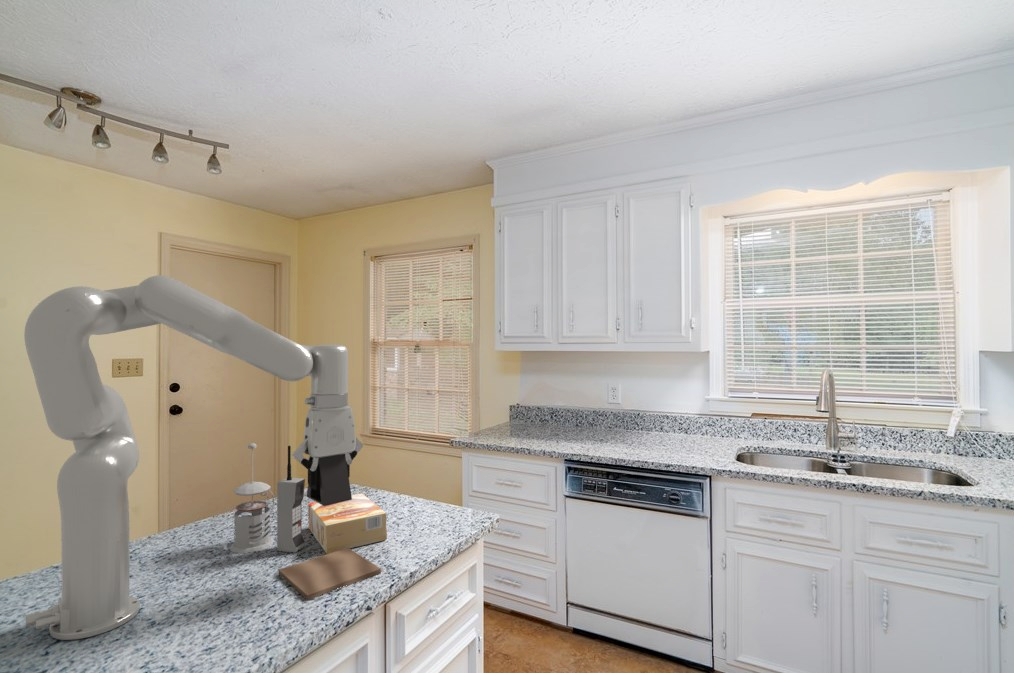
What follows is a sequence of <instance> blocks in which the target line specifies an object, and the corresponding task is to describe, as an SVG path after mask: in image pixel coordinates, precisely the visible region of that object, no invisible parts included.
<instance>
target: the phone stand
mask: <svg viewBox="0 0 1014 673" xmlns="http://www.w3.org/2000/svg"><path fill="white" fill-rule="evenodd" d="M317 470H318V471H319V489H318V490H314V489H312V488H310V486H309V485H308V484H307V485H308V486H307V491H306V498H309V499H311V500H312V501H314V502H318V503H319V504H321V505H323V506H327V505H331V504H336V503H340V502H344V501H348V500H352V495H353V494H352V491H351V490H352V489H351V484H350V476H348V470H347V463H346V457H345V454H341V455H335V456H329V457H323V458H319V463H318V465H317Z"/></svg>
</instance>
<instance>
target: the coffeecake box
mask: <svg viewBox="0 0 1014 673" xmlns="http://www.w3.org/2000/svg"><path fill="white" fill-rule="evenodd" d="M351 495H352V500H348V501H344V502H340V503H336V504H331V505H327V506H323V505H321V504H319V503H318V502H316V501H314V502H309V503H308V504H307V512H308V517H307V518H308V529H309V531H310V532H311V533H312V535H313V536H314V538H315V539H316V541H317V542H318V543H319V545H320V546H321V548H322V549H323V551H324V552H325V553H326V555H327V554H330V553H333V552H336V551H339V550H342V549H346V548H349V549H353V548H357V547H361V546H365V545H369V544H373V543H377V542H381V541H385V540H387V539H388V534H387V532H388V531H387V530H388V529H387V512H385V511H384V510H383V509H382V508H380V506H378V505H377V504H376V503H375V502H374V501H372V500H371V499H370V498H368V497H367V496H366V495H365V494H364V493H359V494H358V493H357V494H351Z"/></svg>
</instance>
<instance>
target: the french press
mask: <svg viewBox="0 0 1014 673" xmlns="http://www.w3.org/2000/svg"><path fill="white" fill-rule="evenodd" d="M256 448H257V444H256V443H254V442H252V443H249V444H248V446H247V449H251V481H249V482H246V483H243V484H241V485H239V486H238V487H236V488H235V489H234V490H233V493H234V495H236V496H241V497H246V496H247V497H249V496H251V500H250V501H246V502H242V503H240V504H238V505H237V506H236V507H235V509H236V510H237V511H235V513H234V518H233V519H234V520H233V521H234V522H233V524H234V528H233V529H234V537H233V538H234V539H233V540H234V542H232V544H231V546H230V547H229V550H230V551H231V553H232V552H233V553H235V554H248V553H247V552H250V553H255V552H254V551H256V552H260V551H262V550H266V549H267V548H270V547H271V546H272V545H273V544H274V543H273V542H275V540H274V539H273V538H272V537H271V536H270V533H271V532H270V527H271V526H270V525H271V524H270V521H271V520H270V519H271V518H270V517H271V514H272V513H273V510H274V508H275V507H274V506H275V496H274V493H273V492H272V490H271V488H272V487H271V485H269V484H268V483H266V482H263V481H254V449H256ZM268 492H270V494H271V495H272V506H271V507H272V508H269V503H270V502H269V501H270V500H269V499H270V498H269V494H268ZM264 493H265V494H264ZM257 495H260V496H263V497H264V496H266V497H267V500H260V499H259V500H254V496H257ZM263 509H264V513H263ZM270 510H271V511H270ZM243 513H244V514H243ZM245 513H250V514H251V515H249V514H245ZM241 514H243V515H241ZM240 515H241V516H240ZM263 526H264V527H263ZM269 546H270V547H269Z"/></svg>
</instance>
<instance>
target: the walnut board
mask: <svg viewBox="0 0 1014 673" xmlns="http://www.w3.org/2000/svg"><path fill="white" fill-rule="evenodd" d="M380 574H382V568H381V567H379V566H377V565H375V563H373V562H371V561H370V560H368V559H366V558H365V557H363V556H361V555H360V554H358V553H357V552H356V551H354V550H352V548H350V549H349V548H346V549H342V550H339V551H336V552H333V553H329V554H327V553H326V554H324V555H320V556H317V557H315V558H312V559H308V560H306V561H302V562H299V563H295V564H292V565H289V566H286V567H283V568H280V569H278V575H279V576H280V577H281V578H282V579H283V580H284V581H285V582H287V583H288V585H290V586H291V587H292V588H293V589H294V590H295V591H297V593H299V594H300V595H301V596H302V597H303V598H304V599H306V601H310V600H313V599H315V597H316V598H319V597H321V596H323V595H322V594H324V595H326V594H328V593H327V592H329V593H331V592H330V591H332V590H334V591H336V590H335V589H337V588H340V587H343V586H345V587H347V586H346V585H348V586H350V585H349V584H351V585H353V584H356V583H358V581H359V582H361V581H363V580H366V579H369V578H372V577H375V576H377V575H380ZM355 582H356V583H355ZM352 583H353V584H352ZM343 588H344V587H343ZM340 589H341V588H340ZM337 590H338V589H337ZM332 592H333V591H332ZM325 593H326V594H325ZM320 595H321V596H320Z"/></svg>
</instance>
